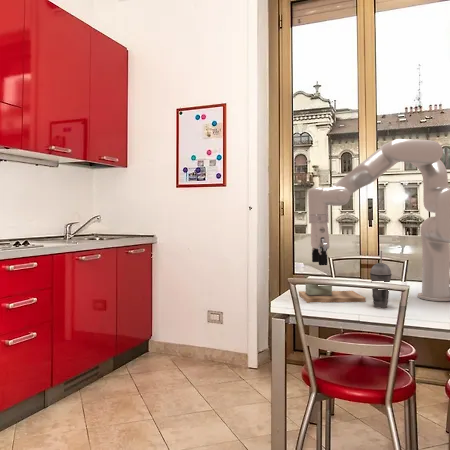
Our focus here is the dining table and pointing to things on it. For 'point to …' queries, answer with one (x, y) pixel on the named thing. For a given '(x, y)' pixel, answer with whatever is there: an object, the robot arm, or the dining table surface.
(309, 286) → the sanding block
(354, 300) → the board
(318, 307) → the dining table surface
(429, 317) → the dining table surface
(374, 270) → the beverage cup
